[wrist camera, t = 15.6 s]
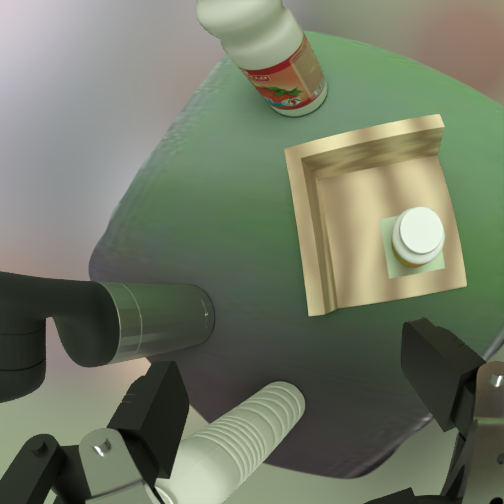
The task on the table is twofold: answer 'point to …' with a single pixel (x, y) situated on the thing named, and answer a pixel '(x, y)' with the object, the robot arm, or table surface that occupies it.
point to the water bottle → (232, 446)
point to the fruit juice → (268, 51)
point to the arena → (370, 213)
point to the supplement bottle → (417, 237)
